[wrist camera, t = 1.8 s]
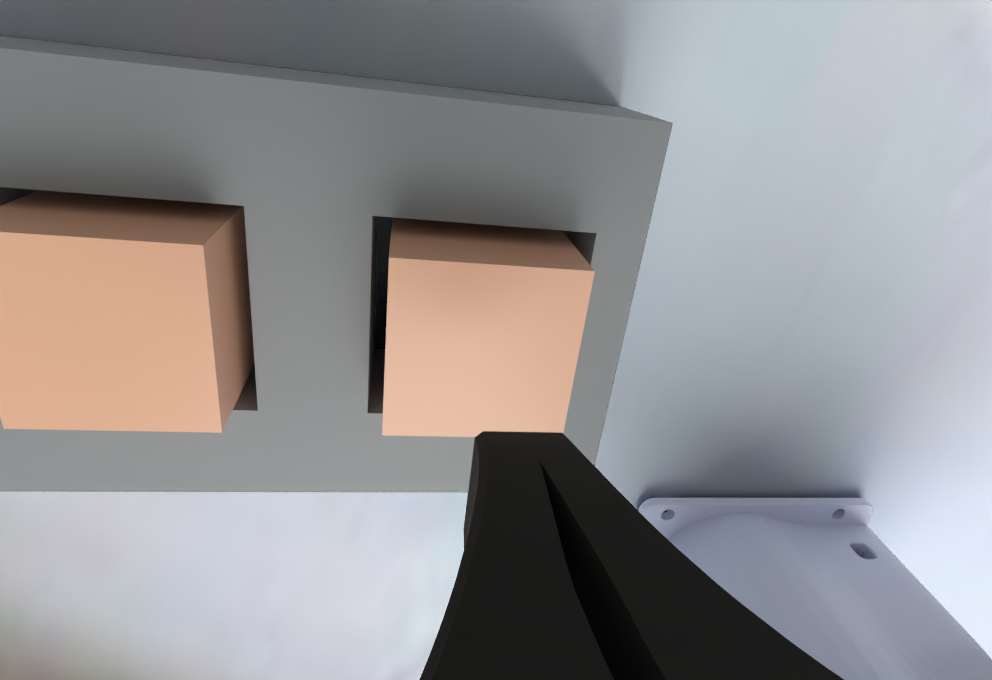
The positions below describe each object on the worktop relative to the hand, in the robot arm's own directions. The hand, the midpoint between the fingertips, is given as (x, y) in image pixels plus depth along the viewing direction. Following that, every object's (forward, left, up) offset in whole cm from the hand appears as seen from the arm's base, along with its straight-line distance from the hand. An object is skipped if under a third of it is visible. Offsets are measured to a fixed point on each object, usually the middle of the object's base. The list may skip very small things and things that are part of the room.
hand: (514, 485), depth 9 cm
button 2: (0, 0, -7) cm, 7 cm away
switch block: (+4, 0, -9) cm, 10 cm away
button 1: (+8, 0, -7) cm, 11 cm away
